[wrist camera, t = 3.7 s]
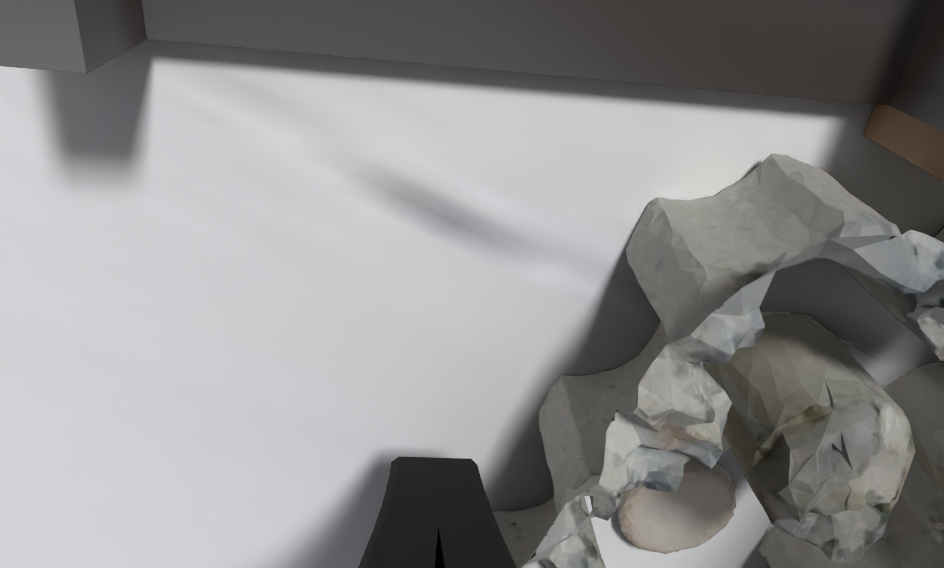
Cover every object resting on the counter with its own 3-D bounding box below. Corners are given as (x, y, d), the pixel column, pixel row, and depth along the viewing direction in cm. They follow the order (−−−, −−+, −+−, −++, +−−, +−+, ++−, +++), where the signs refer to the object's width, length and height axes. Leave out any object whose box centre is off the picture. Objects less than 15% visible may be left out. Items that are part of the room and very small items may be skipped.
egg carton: (720, 640, 16) (803, 858, 12) (413, 570, 14) (409, 802, 11) (1089, 261, 11) (1396, 441, 8) (699, 81, 9) (864, 207, 6)
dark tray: (1094, 750, 19) (1197, 885, 17) (200, 758, 17) (160, 916, 14) (1991, -124, 9) (2640, -126, 6) (-12, -424, 6) (-303, -623, 4)
